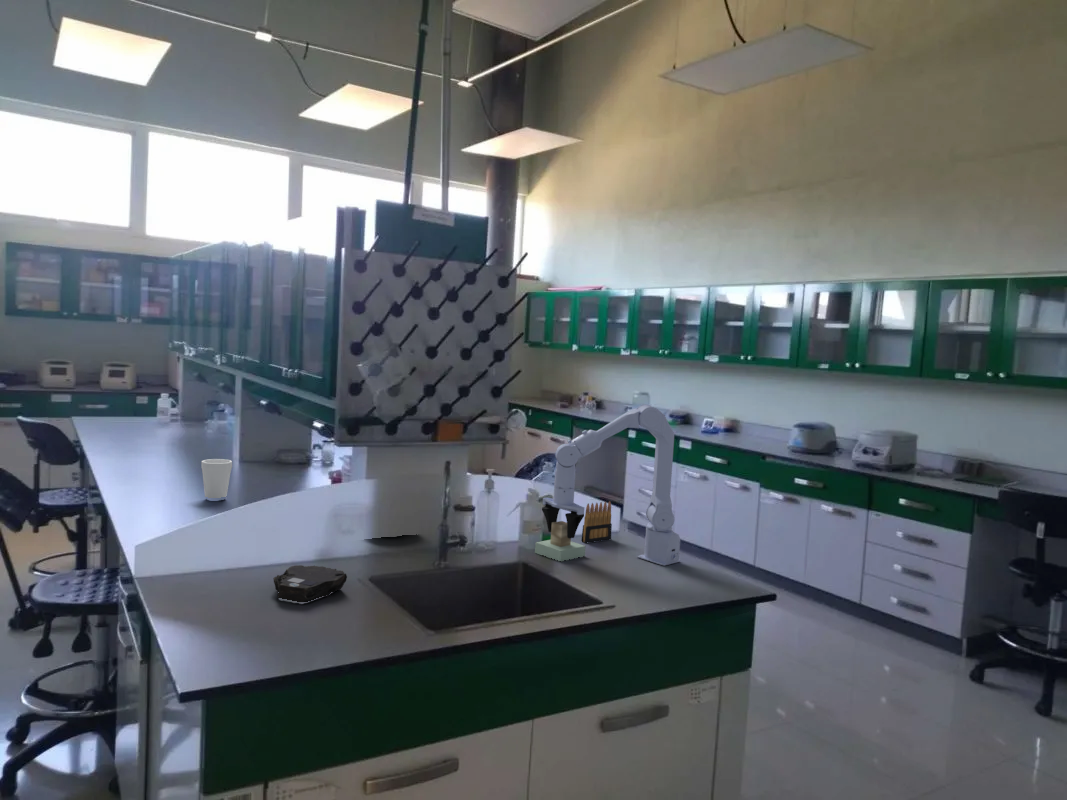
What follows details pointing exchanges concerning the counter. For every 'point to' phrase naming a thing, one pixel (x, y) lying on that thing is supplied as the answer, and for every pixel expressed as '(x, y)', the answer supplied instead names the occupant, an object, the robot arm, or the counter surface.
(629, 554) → the counter surface
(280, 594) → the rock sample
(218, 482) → the foam cup
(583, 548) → the sage base block
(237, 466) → the counter surface
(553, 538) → the beech block
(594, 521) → the ammunition clip
